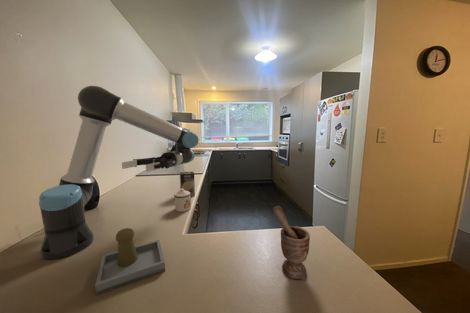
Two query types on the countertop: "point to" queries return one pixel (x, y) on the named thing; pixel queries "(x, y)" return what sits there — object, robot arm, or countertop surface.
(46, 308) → the countertop surface
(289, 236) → the mortar and pestle
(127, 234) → the cork
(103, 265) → the tray
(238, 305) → the countertop surface
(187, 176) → the coffee box
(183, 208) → the teacup with lid
